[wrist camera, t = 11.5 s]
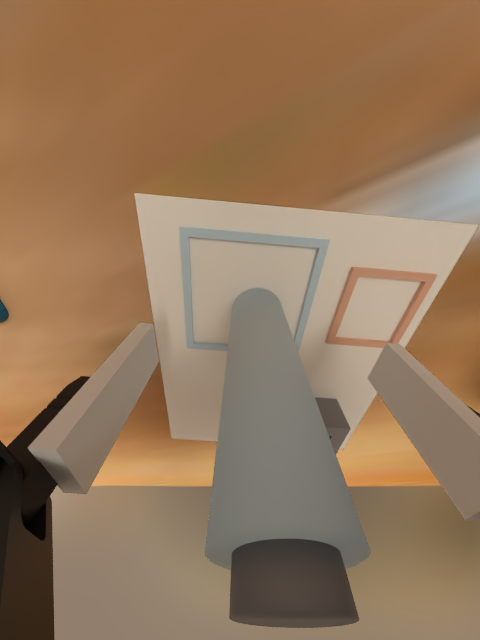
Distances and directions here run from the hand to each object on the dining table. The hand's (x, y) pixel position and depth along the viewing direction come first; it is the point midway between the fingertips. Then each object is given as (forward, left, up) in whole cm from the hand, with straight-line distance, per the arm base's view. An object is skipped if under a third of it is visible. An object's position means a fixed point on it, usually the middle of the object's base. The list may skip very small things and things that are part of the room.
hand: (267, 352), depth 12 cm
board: (+5, +2, -5) cm, 7 cm away
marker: (-1, -1, -4) cm, 4 cm away
